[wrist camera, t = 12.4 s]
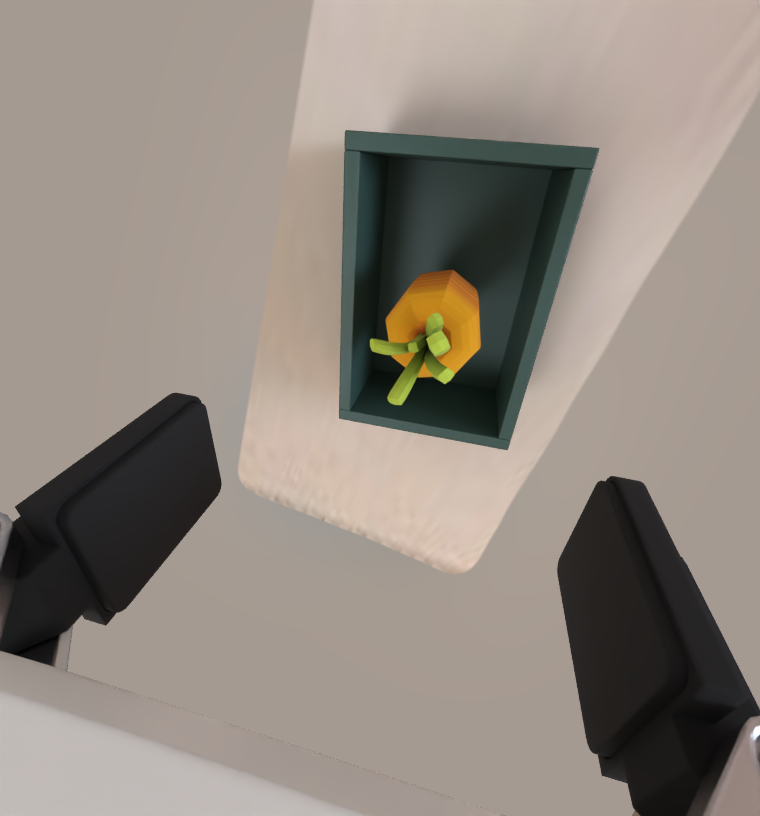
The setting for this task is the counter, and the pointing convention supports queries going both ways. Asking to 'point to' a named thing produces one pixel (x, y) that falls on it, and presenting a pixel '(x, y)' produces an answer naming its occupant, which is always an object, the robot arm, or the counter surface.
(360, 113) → the counter surface
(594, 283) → the counter surface
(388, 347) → the carrot
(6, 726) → the robot arm
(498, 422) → the bin
